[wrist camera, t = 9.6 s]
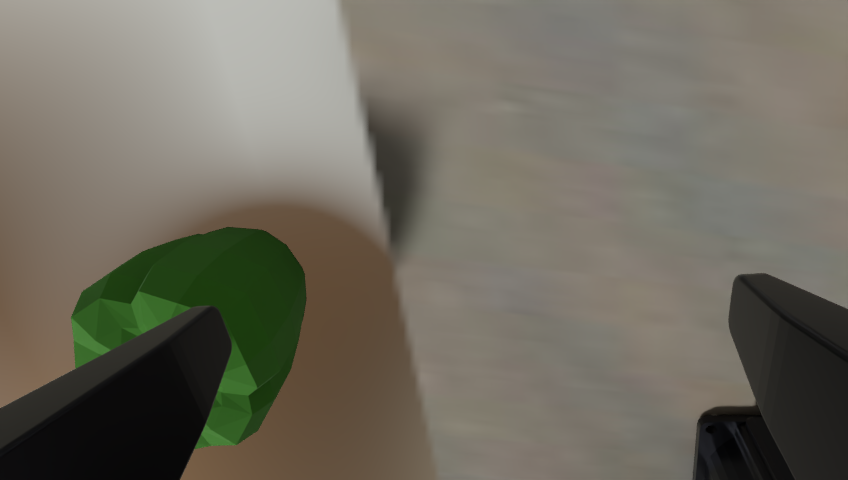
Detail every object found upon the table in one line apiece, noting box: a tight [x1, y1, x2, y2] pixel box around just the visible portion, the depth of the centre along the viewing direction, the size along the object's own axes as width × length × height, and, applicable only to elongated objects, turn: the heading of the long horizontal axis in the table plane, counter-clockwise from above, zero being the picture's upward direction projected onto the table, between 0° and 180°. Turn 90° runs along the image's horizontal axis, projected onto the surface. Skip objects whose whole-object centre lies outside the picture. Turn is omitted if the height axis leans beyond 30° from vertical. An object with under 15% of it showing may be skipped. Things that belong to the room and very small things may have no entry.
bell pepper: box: [71, 227, 306, 449], centre depth 22 cm, size 8×8×10 cm
